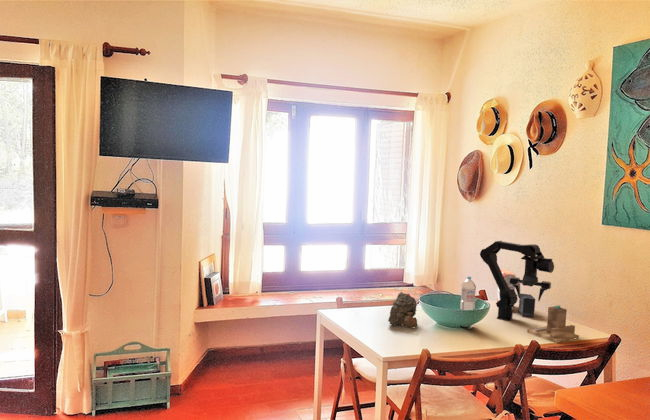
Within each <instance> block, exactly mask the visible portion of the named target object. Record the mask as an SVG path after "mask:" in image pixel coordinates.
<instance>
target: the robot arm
mask: <svg viewBox="0 0 650 420" xmlns="http://www.w3.org/2000/svg"><path fill="white" fill-rule="evenodd" d="M501 250H506V251H511V252H516V253H517V252H518V253H519V254H521V255H523V256H522V257H520V259H521V260H525V261H524V274H523V276H522V279H521V278H520V277H517V276H515V277H512V278H511V279H510V284H512V286H514V287H515V290H514V289H512V290H511V289H510V288H509V287H508V285H507V283H506V281H505V278H504V276H503V274H502V272H501V270H502V269H501V268H500V266H499V264H498V256H497V255H498V253H499V252H501ZM479 255H480V258H481V259H482V261H483V262H484V264H485V265H487V266H488V268H489V270H490V272H491V275H492V276H493V279H494V280H495V283H496V285H497V289H498V288H499V290H500V299H501V300H499V301H498V302H497V301H496V303H495V304H496V307H497V311H498V312H497V317H496V319H499V320H504V321H511V320H512V319H513V314H514V310H512V307H513V306H514V307H515V305H516V304H517V302H518V299H519V298H520V294H521V285H523V286H527V287H533V286H538V287H540V288H539V294H538V302H540V301H541V298H542V297H543V294H544V292H545V291H547V290H550V289H551V288H552V282H551V281H546V280H545V281H544V280H542V281H541V282H540V281H539V277H538V271H539V272H544V273H553V272H554V269H555V265H554V261H553V258H547V257H545V256H544V254H543V253H542V251H541V247H539V245H538V244H534V243H533V244H530V243H529V244H520V243H513V242H508V241H507V242H506V241H503V240H495V241H494V242H493V243H492V244H490V245H488V246H487V247H486V248H482V249H481V250H480V252H479Z"/></svg>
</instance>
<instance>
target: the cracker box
mask: <svg viewBox="0 0 650 420" xmlns="http://www.w3.org/2000/svg"><path fill="white" fill-rule="evenodd" d="M500 270H501V272H502V274H503V276H504V278H505V281H506V283H507V285H508V287H509V288H510V289H511V290H512V289H514V290H515V291H516V288H515V287H514V286H512V284H510V279H511V278H512V277H516V274H515V273H513V272H512V271H510V270H509V269H500ZM499 300H501V299H500V290H499V288H498V287H497V295H496V303H497V302H498V301H499ZM514 308H515V305H514V306H513V307H512V310H513V311H515V310H514Z"/></svg>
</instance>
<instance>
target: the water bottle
mask: <svg viewBox="0 0 650 420" xmlns="http://www.w3.org/2000/svg"><path fill="white" fill-rule="evenodd" d="M460 286H461V291H460V297H461V298H460V308H459V310H460V309H462V310H473V309H475V310H476V308H475V307H476V306H475V305H476V289H477V285H476V283H475V282H474V281H473V280H472V276H467V277H466V279H465V280H463V282H462V284H461V285H460ZM474 325H475V324H474ZM474 325H472V326H471V327H470V328H469V329H473V328H474ZM472 327H473V328H472Z"/></svg>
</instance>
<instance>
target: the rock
mask: <svg viewBox="0 0 650 420" xmlns="http://www.w3.org/2000/svg"><path fill="white" fill-rule="evenodd" d="M417 306H418V303H417V301H416V299H415V297H413V296H411V295H409V294H407V293H404V292H402V291H401V292H399V293H398V294H397V296H396V298H395V300H394V301H393V303H392V306H391V307H390V312H389V317H388V320H387V322H388V323H389V324H390V325H391V324H392V325H391V326H396V325H398V324H400V325H404V326H403V327H406V326H407V327H406V328H409V327H415V328H417V327H418V319H417V317H415V316H416V312H417V311H418V310H417ZM393 324H395V325H393Z"/></svg>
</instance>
